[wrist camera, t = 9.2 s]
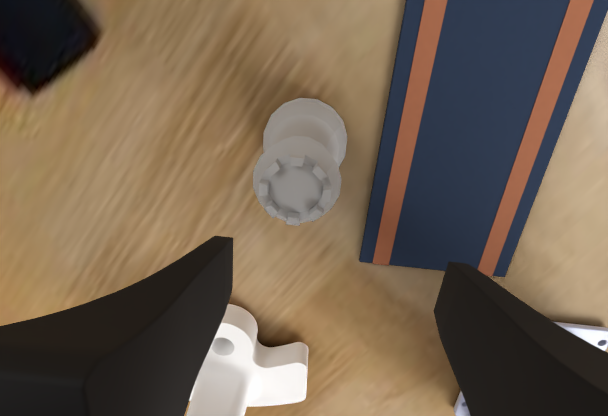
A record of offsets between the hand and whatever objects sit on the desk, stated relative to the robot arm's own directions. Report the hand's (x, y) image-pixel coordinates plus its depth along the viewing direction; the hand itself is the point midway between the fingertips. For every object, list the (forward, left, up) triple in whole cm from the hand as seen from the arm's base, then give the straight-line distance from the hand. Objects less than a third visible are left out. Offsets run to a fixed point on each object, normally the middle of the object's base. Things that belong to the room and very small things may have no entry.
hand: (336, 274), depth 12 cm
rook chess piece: (+2, +2, -10) cm, 10 cm away
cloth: (+3, -7, -9) cm, 12 cm away
